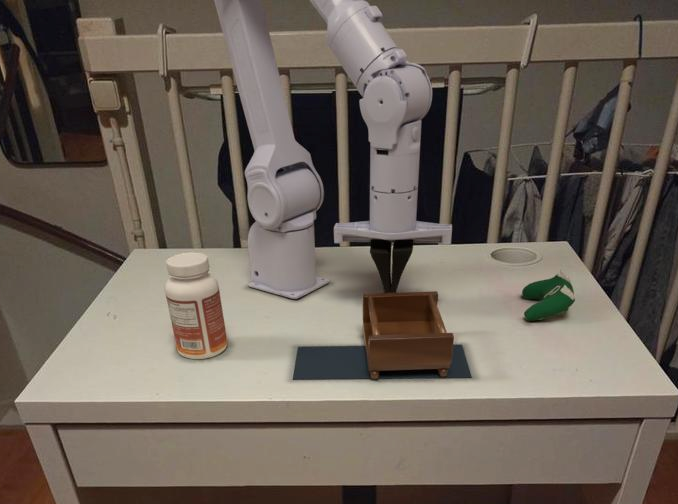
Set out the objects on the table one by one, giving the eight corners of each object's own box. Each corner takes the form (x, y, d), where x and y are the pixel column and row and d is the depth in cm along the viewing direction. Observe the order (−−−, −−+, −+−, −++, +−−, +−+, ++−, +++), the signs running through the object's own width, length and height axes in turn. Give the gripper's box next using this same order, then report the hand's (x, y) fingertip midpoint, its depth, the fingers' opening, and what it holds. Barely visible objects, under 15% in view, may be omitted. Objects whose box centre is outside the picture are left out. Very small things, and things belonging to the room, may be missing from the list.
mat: (292, 379, 70) (292, 378, 70) (297, 347, 76) (297, 346, 76) (471, 377, 69) (471, 376, 69) (462, 345, 75) (462, 344, 75)
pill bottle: (219, 334, 80) (205, 246, 73) (234, 353, 75) (222, 262, 68) (171, 344, 78) (153, 255, 71) (184, 365, 73) (166, 272, 66)
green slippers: (539, 337, 80) (581, 307, 77) (521, 316, 79) (563, 285, 76) (535, 308, 87) (574, 280, 84) (519, 288, 86) (557, 259, 83)
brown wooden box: (362, 331, 78) (362, 293, 75) (433, 329, 78) (437, 291, 75) (368, 380, 69) (369, 339, 65) (449, 378, 69) (454, 336, 65)
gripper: (455, 179, 76) (445, 287, 85) (338, 179, 78) (340, 285, 86) (455, 194, 71) (445, 308, 79) (330, 193, 73) (333, 305, 81)
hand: (390, 297), depth 82 cm, fingers closed
